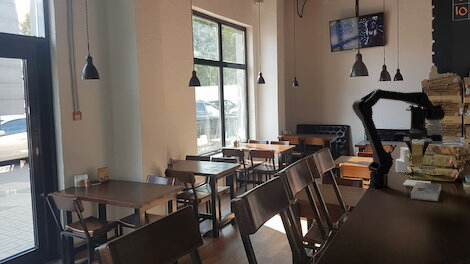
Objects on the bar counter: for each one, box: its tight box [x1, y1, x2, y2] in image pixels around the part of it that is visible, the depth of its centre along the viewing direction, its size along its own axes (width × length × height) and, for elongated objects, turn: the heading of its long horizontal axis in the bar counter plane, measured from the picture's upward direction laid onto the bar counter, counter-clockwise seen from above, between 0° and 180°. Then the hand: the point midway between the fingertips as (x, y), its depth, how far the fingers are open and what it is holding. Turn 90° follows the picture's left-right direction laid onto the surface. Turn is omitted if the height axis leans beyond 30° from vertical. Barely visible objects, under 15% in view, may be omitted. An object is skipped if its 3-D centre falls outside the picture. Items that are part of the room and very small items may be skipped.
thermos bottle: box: [425, 120, 444, 145], centre depth 180 cm, size 8×8×28 cm
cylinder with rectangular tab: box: [395, 146, 409, 174], centre depth 188 cm, size 9×9×12 cm
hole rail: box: [410, 182, 442, 202], centre depth 147 cm, size 18×9×2 cm, turn 147°
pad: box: [402, 179, 432, 187], centre depth 162 cm, size 10×10×1 cm
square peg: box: [411, 142, 424, 167], centre depth 161 cm, size 4×4×9 cm
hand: (417, 156), depth 161 cm, fingers closed on square peg, 4 cm apart
